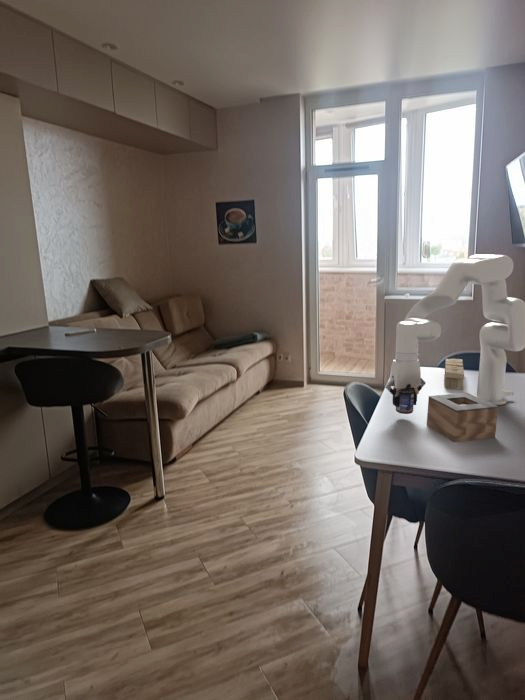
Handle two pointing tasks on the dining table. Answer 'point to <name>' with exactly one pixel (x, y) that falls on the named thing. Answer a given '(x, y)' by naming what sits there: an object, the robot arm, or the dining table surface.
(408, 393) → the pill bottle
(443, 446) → the dining table surface
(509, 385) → the dining table surface
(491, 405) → the sleeve block
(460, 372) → the block tower
